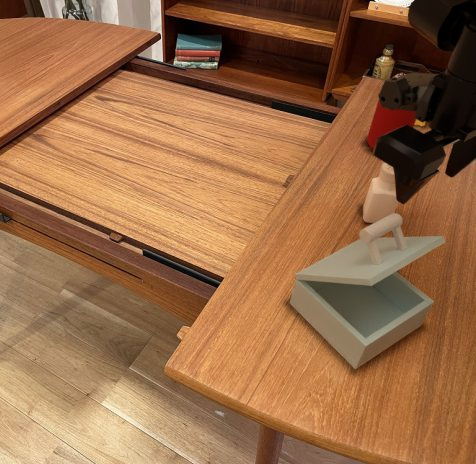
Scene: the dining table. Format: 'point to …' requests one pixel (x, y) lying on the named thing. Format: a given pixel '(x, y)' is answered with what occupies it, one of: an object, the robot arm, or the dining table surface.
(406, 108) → the robot arm
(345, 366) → the dining table surface
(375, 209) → the pepper shaker
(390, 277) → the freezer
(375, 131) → the beverage can
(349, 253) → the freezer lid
